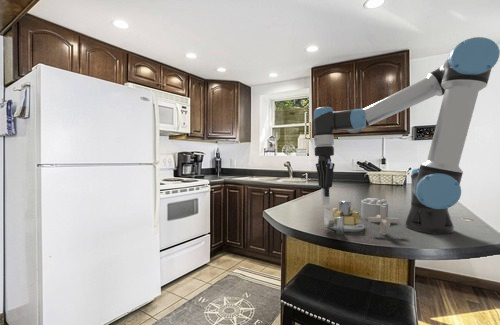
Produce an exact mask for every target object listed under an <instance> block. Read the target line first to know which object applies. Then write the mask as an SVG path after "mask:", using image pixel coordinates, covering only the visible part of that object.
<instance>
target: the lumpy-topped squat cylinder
mask: <svg viewBox="0 0 500 325" xmlns="http://www.w3.org/2000/svg"><path fill="white" fill-rule="evenodd" d="M360 201H361V202H360V203H361V204H360V218H362V219H364V220H367V218H368V217H376V216H377V215H380V206H386V218H389V203H388V202H387V200H386V199H383V198H382V199H379V198H377V197H376V198H375V197H374V198H373V197H366V198H364V199H362V200H360Z"/></svg>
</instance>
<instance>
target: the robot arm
mask: <svg viewBox="0 0 500 325" xmlns="http://www.w3.org/2000/svg"><path fill="white" fill-rule="evenodd" d="M499 58H500V48H499V45H498V44H497V43H496V42H495V41H493V40H492V39H490V38H488V37H483V36H482V37H480V36H478V37H477V36H475V37H471V38H467V39H465V40H463V41H461V42H459V43H458V44H457V45H456V46H455V47H454V48H452V50H451V51H450V53H449V54H448V57H447V58H446V60H445V62H444V63H443V64H442V65H441V66H439V67H438V68H436V69H435V70H433V71H432V72H428V73H427V76H426V77H425V78H423V79H421V80H419V81H417V82H415V83H413V84H411V85H409V86H407V87H405V88H403V89H401V90H399V91H396V92H395V93H393V94H390V95H389V96H387V97H384V98H383V99H381V100H378V101H377V102H375V103H372V104H370V105H369V106H366V107H364V108H358V109H357V108H354V109H349V110H348V109H347V110H340V111H339V110H338V111H334V110H333V107H331V106H322V107H317V108H315V109H314V110H313V131H314V132H313V133H314V134H313V136H314V138H313V141H314V146H315V147H314V156H315V157H318V158H317V159H318V161H317V163H315V168H316V173H317V174H316V175H317V180H318V187H320V188H321V189H320V190H321V205H323V206H326V205H330V204H331V202H330V188H332V187H333V181H334V180H333V179H334V169H335V163H333V162H332V158H331V156H332V157H333V156H334V155H335V148H334V147H335V146H334V145H335V144H334V143H335V141H334V138H335V137H334V136H335V135H334V131H336V132H337V131H346V132H347V133H350V134H357V133H360V132H361V131H362V130H364V129H365V128H368V127H370V126H372V125H374V124H376V123H378V122H380V121H383V120H385V119H387V118H389V117H391V116H394V115H396V114H398V113H401V112H402V111H405V110H407V109H409V108H412V107H413V106H416V105H417V104H420V103H422V102H424V101H427V100H428V99H431V98H433V97H435V96H438V97H441V96H442V101H441V105H440V109H439V113H438V117H437V121H436V123H435V128H434V133H433V136H432V140H431V144H430V148H429V152H428V155H427V159H426V161H424V162H423V163H420V165H419V167H418V168H414V169H412V170H411V175H410V178H411V187H410V188H411V190H410V192H411V193H410V195H411V196H410V202H411V203H410V208H409V211H408V213H407V216H406V219H405V227H406V228H408V229H411V230H413V231H418V232H422V233H426V234H435V235H437V234H438V235H448V234H453V233H454V229H455V228H454V224H453V221H452V218H451V215H450V212H449V208H451V207H453V206H454V205H456V204H457V203H458V202H459V200H460V198H461V196H462V189H461V188H462V187H461V181H462V178H463V174H464V172H463V169H461V167H460V162H461V157H462V154H463V151H464V147H465V143H466V140H467V136H468V133H469V129H470V124H471V121H472V117H473V113H474V111H475V106H476V103H477V99H478V95H479V92H480V91H481V90H483V89H485V88H487V85H488V82H489V79H490V76H491V72H492V69H493V68H494V67H495V65H496V64H497V62H499V61H498V60H499Z"/></svg>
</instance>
